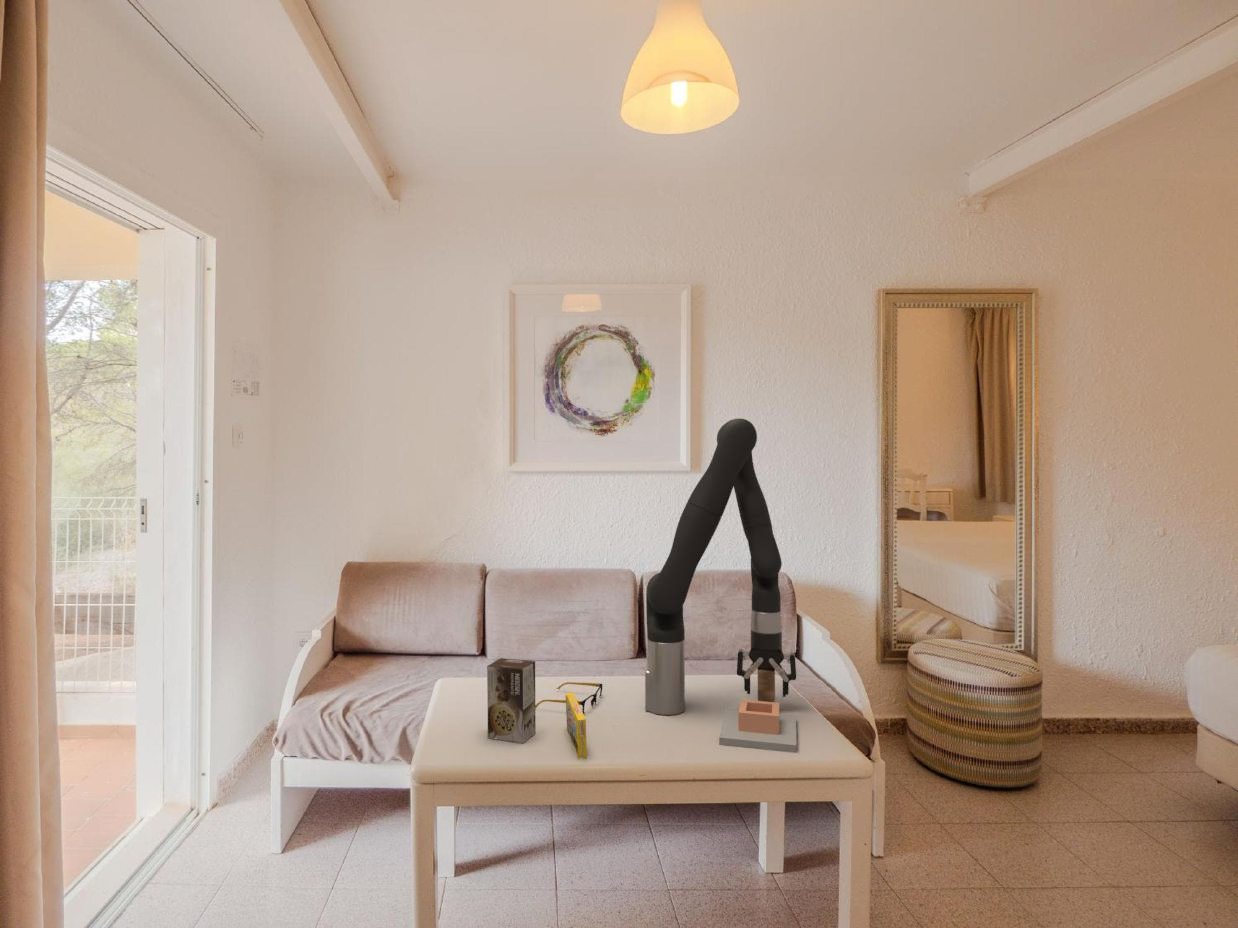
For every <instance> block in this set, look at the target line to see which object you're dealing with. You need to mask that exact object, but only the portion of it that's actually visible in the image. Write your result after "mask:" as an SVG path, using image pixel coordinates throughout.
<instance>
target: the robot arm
mask: <svg viewBox="0 0 1238 928" xmlns="http://www.w3.org/2000/svg"><path fill="white" fill-rule="evenodd" d="M757 441H758V434H757V430H756V428H755V426H754V424H753V423H752V422H751V421H749V420H748V419H745V418H734V419H730V420H728V421H726V422H725V423H724V424H722V426H721V427H720V428H719V430H718V431H717V435H716V444H717V445H716V448H715V450H714V453H713V455H712V458H711V460H710V463H709V464H708V465H709V466H708V467H707V469H706V471H705V472H704V474H703V475H702V477H701V478H700V480H699V481H698V483H697V484H696V485H695V487H694V489H693V491H692V492H691V494H690V495H689V498H688V499H687V501H686V504H685V506H684V509H683V510H682V513H681V515H680V517H679V521H678V523H677V526H676V530H675V533H674V537H673V542H672V545H671V549H670V552H669V554H668V557H667V558H666V561H665V563H664V564H663V567H662V568H661V570H660V572H658V573H656V574H654V575H653V576H651V578H650V579H649V581H648V583H647V586H646V592H645V593H646V594H645V596H646V599H645V603H646V606H645V607H646V636H647V637H646V639H647V642H646V645H647V649H646V651H647V656H646V658H647V659H646V660H647V661H646V662H647V668H646V670H645V675H644V678H645V679H644V680H645V682H644V685H645V686H644V688H645V689H644V690H645V691H644V692H645V695H644V697H645V700H644V701H645V702H644V703H645V704H644V705H645V707H644V708H645V712H651V713H653V714H657V715H661V716H663V715H664V716H672V715H679V714H681V713H684V711H685V710H686V709H685V705H686V704H685V703H686V700H685V698H686V696H685V692H686V690H685V689H686V687H685V686H686V683H685V682H686V681H685V679H686V678H685V677H686V676H685V675H686V674H685V673H686V671H685V669H686V667H685V665H686V662H685V661H686V659H685V657H686V656H685V653H686V652H685V644H686V643H685V632H686V631H685V624H684V623H685V621H684V604H685V602H686V600H687V596H688V593H689V591H690V590H689V589H690V587H691V584H692V581H693V578H694V576H695V572H696V569H697V567H698V565H699V563H700V562H701V560H702V557H703V556H704V554H705V552H706V551H707V548H708V546H709V545H710V543H711V540H712V538H713V537H714V535H715V533H716V530H717V528H718V527H719V524H720V522H721V520H722V517H723V516H724V512H725V510H726V508H727V506H728V502H729V500H730V497H731V494H732V492H733V490H734V494H735V499H736V502H737V504H736V505H737V508H738V512H739V517H740V522H741V525H742V529H743V532H744V535H745V538H746V540H747V544H748V545H747V546H748V549H749V553H750V573H751V575H750V576H751V587H752V589H751V613H750V650H749V651H747V650H746V651H745V650H744V649H741V648H740V649H739V650H738V651H737V661H736V663H737V664H736V675H737V676H738V677H739V676H740V677H741V678H743V681H744V683H743V685H744V687H743V689H744V690H743V691H745V692H746V694H747V695H750V694H751V676H752V674H754V672H755V671H756V670H758V669H761V670H775V672H776V673H777V674H778V675H779V676H780V677H781V679H782V698H786V696H788V695H789V691H790V690H789V689H790V688H789V687H790V686H789V684H790V681H796V680H797V668H796V654H795V652H791V653H784V652H783V633H782V632H783V631H782V629H783V620H782V611H781V610H782V609H781V604H782V603H781V597H782V596H781V592H780V591H781V590H780V588H779V573H780V571H781V569H782V558H781V554H780V551H779V548H778V547H779V546H778V544H777V541H776V538H775V535H774V532H773V531H774V530H773V525H772V520H771V516H770V512H769V508H768V505H767V501H766V498H765V495H764V493H763V490H762V488H761V486H760V483H759V481H758V477H757V475H756V470H755V466H754V462H753V461H754V460H753V450H754V448H755V447H756V444H757ZM748 657H749V659H750V661H751V664H750V665H749V666H748V668H747V669H746V670H744V669H743V667H744V666H743V665H744V661H746V659H747V658H748ZM784 659H785V660H786V663H787V664H789V665H790V672H789V673H787V672H786V670H785V669H784V667H783V665H782V664H781V663H782V662H783V661H784Z"/></svg>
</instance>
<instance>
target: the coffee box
mask: <svg viewBox="0 0 1238 928" xmlns="http://www.w3.org/2000/svg"><path fill="white" fill-rule="evenodd" d="M486 671H487V672H486V677H487V678H486V679H487V680H486V681H487V690H486V691H487V695H486V696H487V739H489V738H497V739H501V740H500V741H504V740H507V741H506V742H512V741H515V742H514V743H519V742H520V744H524V743H526V742H527V741H528V740H529V739H531V738H532V737H533V736H534V735H535V734H536V732H537V731H536V728H537V727H536V709H535V705H536V661H535V660H526V659H515V658H502V657H501V658H498V659H496V660H494V661H493V662H491V663H490V664H488V665H487V666H486ZM532 735H533V736H532ZM531 736H532V737H531ZM525 741H526V742H525Z"/></svg>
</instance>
